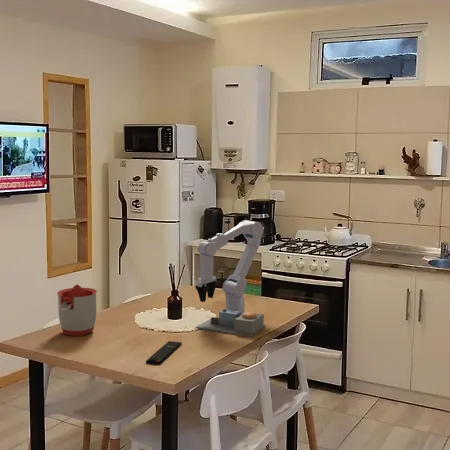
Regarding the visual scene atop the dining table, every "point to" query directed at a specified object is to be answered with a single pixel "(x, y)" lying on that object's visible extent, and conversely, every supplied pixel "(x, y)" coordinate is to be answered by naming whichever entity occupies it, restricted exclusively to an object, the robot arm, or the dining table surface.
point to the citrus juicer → (77, 310)
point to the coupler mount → (237, 324)
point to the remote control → (163, 353)
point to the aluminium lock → (228, 318)
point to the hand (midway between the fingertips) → (206, 299)
